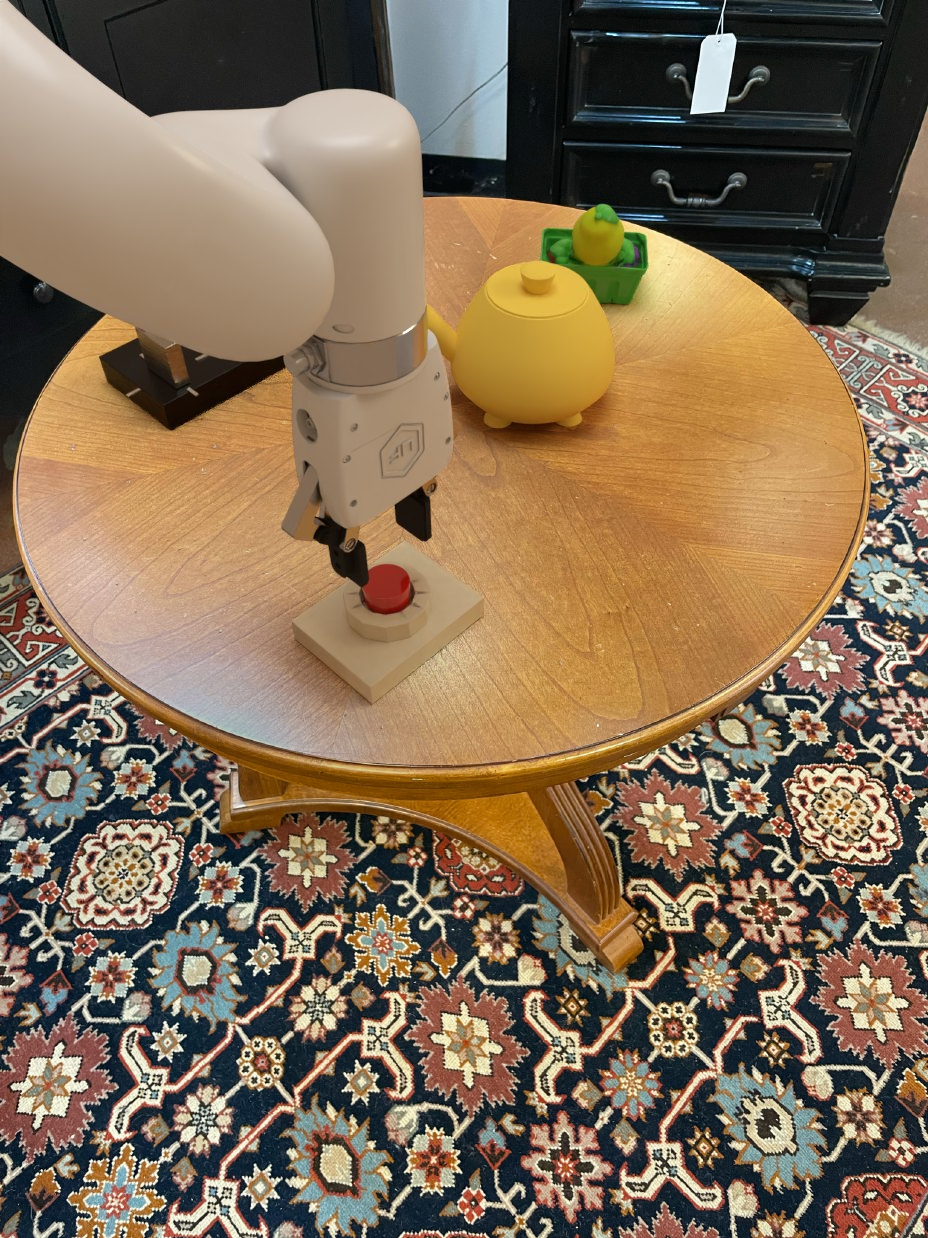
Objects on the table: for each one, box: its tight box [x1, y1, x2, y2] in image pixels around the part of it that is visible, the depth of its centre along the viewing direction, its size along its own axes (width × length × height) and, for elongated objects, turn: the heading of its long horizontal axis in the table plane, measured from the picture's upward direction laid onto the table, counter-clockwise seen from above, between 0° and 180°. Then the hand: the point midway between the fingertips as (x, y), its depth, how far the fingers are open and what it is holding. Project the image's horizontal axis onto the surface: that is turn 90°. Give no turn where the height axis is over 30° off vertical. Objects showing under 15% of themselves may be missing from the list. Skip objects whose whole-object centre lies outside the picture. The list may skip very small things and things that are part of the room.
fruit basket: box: [539, 203, 649, 305], centre depth 101 cm, size 11×9×11 cm
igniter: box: [291, 540, 485, 705], centre depth 74 cm, size 12×9×4 cm
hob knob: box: [134, 326, 190, 389], centre depth 89 cm, size 5×2×5 cm, turn 45°
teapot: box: [427, 260, 616, 429], centre depth 89 cm, size 20×16×14 cm
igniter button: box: [362, 564, 411, 614], centre depth 72 cm, size 4×4×2 cm
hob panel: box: [98, 337, 286, 431], centre depth 94 cm, size 16×12×3 cm
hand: (382, 550), depth 69 cm, fingers open, 5 cm apart
